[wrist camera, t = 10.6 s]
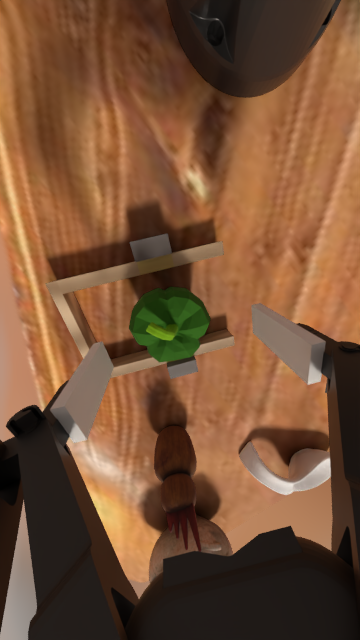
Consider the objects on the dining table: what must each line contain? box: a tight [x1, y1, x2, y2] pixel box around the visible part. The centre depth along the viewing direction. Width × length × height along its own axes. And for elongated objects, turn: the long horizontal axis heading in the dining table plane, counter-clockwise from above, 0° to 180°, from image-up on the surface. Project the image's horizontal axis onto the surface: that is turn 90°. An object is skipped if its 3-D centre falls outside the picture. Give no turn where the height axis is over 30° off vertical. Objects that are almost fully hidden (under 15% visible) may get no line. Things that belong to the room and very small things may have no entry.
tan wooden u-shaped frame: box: [46, 233, 234, 379], centre depth 23 cm, size 18×20×4 cm
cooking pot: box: [149, 515, 233, 583], centre depth 41 cm, size 25×19×12 cm
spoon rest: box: [239, 441, 331, 495], centre depth 38 cm, size 24×12×7 cm, turn 68°
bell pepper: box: [129, 287, 211, 362], centre depth 20 cm, size 8×8×10 cm
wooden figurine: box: [154, 426, 201, 552], centre depth 27 cm, size 7×6×15 cm
